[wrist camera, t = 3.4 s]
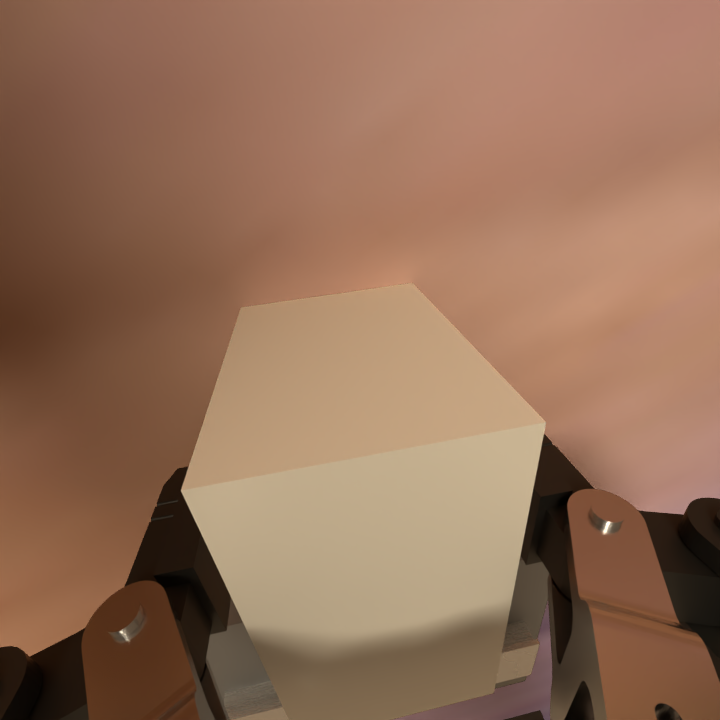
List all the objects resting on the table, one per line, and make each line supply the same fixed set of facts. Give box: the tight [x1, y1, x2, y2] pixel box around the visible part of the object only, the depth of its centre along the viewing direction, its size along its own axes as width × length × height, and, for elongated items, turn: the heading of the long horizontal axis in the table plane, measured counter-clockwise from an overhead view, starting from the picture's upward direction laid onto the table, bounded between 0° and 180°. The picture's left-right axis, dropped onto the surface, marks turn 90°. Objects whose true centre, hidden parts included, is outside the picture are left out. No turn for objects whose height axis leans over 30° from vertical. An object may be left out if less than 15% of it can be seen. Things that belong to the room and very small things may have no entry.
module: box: [181, 283, 546, 720], centre depth 9 cm, size 8×4×6 cm, turn 6°
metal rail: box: [224, 621, 540, 720], centre depth 17 cm, size 3×14×1 cm, turn 96°
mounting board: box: [206, 555, 549, 702], centre depth 18 cm, size 12×16×1 cm
